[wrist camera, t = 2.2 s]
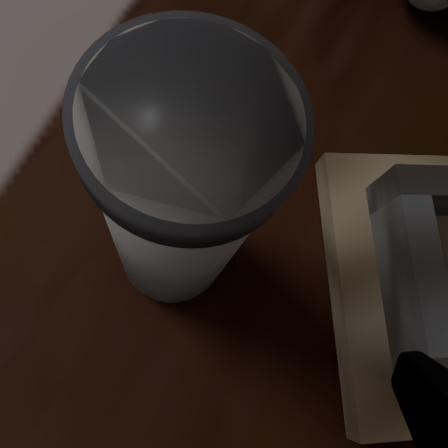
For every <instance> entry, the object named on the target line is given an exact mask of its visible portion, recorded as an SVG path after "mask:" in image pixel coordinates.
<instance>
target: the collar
mask: <svg viewBox="0 0 448 448" xmlns="http://www.w3.org/2000/svg"><path fill="white" fill-rule="evenodd" d="M315 169H316V177H317V186H318V195H319V203H320V212H321V221H322V230H323V238H324V247H325V256H326V264H327V273H328V282H329V290H330V299H331V308H332V316H333V325H334V334H335V342H336V351H337V360H338V369H339V377H340V386H341V395H342V403H343V412H344V421H345V429H346V438H347V439H350V440H352V441H354V442H356V443H359V444H372V443H384V442H396V441H408V440H413V439H412V437H411V434H410V432H409V429H408V427H407V424H406V422H405V419H404V417H403V414H402V412H401V409H400V406H399V404H398V401H397V399H396V396H395V394H394V391H393V389H392V384H391V378H392V374H393V371H394V368H395V365H396V361H397V358H398V356H399V354H400V353H401V352H403V351H414V350H418V351H421V352H423V353H424V354H426V355H428V356H429V357H431V358H432V359H434V360H435V361H437V362H438V363H440V364H442V365H443V366H445V367H446V368H448V156H429V155H392V154H355V153H324V154H323V156H322V157H321V158H320V159H319V160H318V162H317V163H316V164H315Z"/></svg>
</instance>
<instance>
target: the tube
mask: <svg viewBox="0 0 448 448" xmlns="http://www.w3.org/2000/svg"><path fill="white" fill-rule="evenodd" d="M62 124H63V130H64V136H65V140H66V143H67V147H68V150H69V153H70V155H71V158H72V160H73V162H74V165H75V167H76V169H77V172H78V174H79V176H80V178H81V180H82V183H83V185H84V187H85V189H86V191H87V192H88V194H89V195H90V197H91V198H92V199H93V201H94V202H95V204H96V205H97V206H98V207H99V208H100V209H101V210H102V211H103V214H104V217H105V219H106V222H107V224H108V227H109V230H110V232H111V235H112V238H113V240H114V243H115V246H116V248H117V251H118V254H119V256H120V259H121V262H122V264H123V267H124V270H125V272H126V274H127V276H128V278H129V280H130V281H131V283H132V284H133V285H134V286H135V287H136V289H138V290H139V291H140V292H141V293H142V294H144V295H146V296H147V297H149V298H151V299H153V300H157V301H160V302H166V303H178V302H184V301H188V300H190V299H193V298H195V297H197V296H199V295H200V294H202V293H203V292H204V291H206V290H207V289H208V288H209V287H210V286H211V284H212V283H213V282H214V281H215V279H216V278H217V277H218V275H219V274H220V272H221V271H222V270H223V268H224V267H225V266H226V264H227V263H228V262H229V260H230V259H231V258H232V256H233V255H234V254H235V252H236V251H237V250H238V248H239V247H240V246H241V244H242V243H243V242H244V240H245V239H246V238H247V236H248V235H249V234H250V233H252V232H253V231H255V230H256V229H257V228H259V227H260V226H262V225H263V224H264V223H265V222H266V221H267V220H269V219H270V218H271V217H272V216H273V215H274V214H275V212H276V211H277V210H278V209H279V207H280V206H281V205H282V204H283V203H284V201H285V200H286V199H287V198H288V196H289V195H290V194H291V193H292V192H293V190H294V189H295V188H296V187H297V185H298V184H299V182H300V180H301V179H302V177H303V175H304V174H305V171H306V169H307V167H308V164H309V162H310V159H311V155H312V151H313V147H314V137H315V121H314V113H313V108H312V103H311V100H310V97H309V94H308V91H307V89H306V87H305V85H304V83H303V81H302V79H301V77H300V75H299V74H298V72H297V71H296V69H295V68H294V66H293V65H292V64H291V63H290V61H289V60H288V59H287V58H286V56H285V55H284V54H283V53H282V52H281V51H280V50H279V49H278V48H277V47H275V46H274V45H273V44H272V43H271V42H269V41H268V40H267V39H266V38H264V37H263V36H262V35H260V34H258V33H257V32H255V31H253V30H252V29H250V28H248V27H246V26H244V25H242V24H240V23H238V22H236V21H233V20H230V19H227V18H224V17H222V16H218V15H213V14H209V13H204V12H196V11H164V12H157V13H152V14H147V15H143V16H140V17H137V18H134V19H131V20H129V21H127V22H125V23H122V24H120V25H118V26H116V27H115V28H113V29H112V30H110V31H108V32H107V33H105V34H104V35H103V36H101V37H100V38H99V39H98V40H97V41H95V42H94V43H93V44H92V45H91V46H90V47H89V49H88V50H87V51H86V52H85V53H84V54H83V56H82V57H81V58H80V60H79V61H78V63H77V64H76V66H75V68H74V70H73V72H72V74H71V76H70V78H69V80H68V84H67V87H66V90H65V93H64V100H63V106H62Z"/></svg>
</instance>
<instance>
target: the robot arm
mask: <svg viewBox="0 0 448 448" xmlns="http://www.w3.org/2000/svg"><path fill="white" fill-rule="evenodd" d="M391 384H392V389H393V391H394V394H395V396H396V399H397V401H398V404H399V406H400V409H401V412H402V414H403V417H404V419H405V422H406V424H407V427H408V429H409V432H410V434H411V437H412V439H413V442H414V444H415V447H416V448H448V368H446V367H445V366H443V365H442V364H440V363H438V362H437V361H435V360H434V359H432V358H431V357H429V356H428V355H426V354H424V353H423V352H421V351H418V350H414V351H403V352H401V353H400V354H399V356H398V358H397V361H396V365H395V368H394V371H393V374H392V378H391Z"/></svg>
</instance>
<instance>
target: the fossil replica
mask: <svg viewBox="0 0 448 448" xmlns="http://www.w3.org/2000/svg"><path fill="white" fill-rule="evenodd" d="M408 1H409V2H410V4H412V5H413V6H415V7H416V8H418V9H421V10H424V11H439V10H443V9H445V8H447V7H448V0H408Z"/></svg>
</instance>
